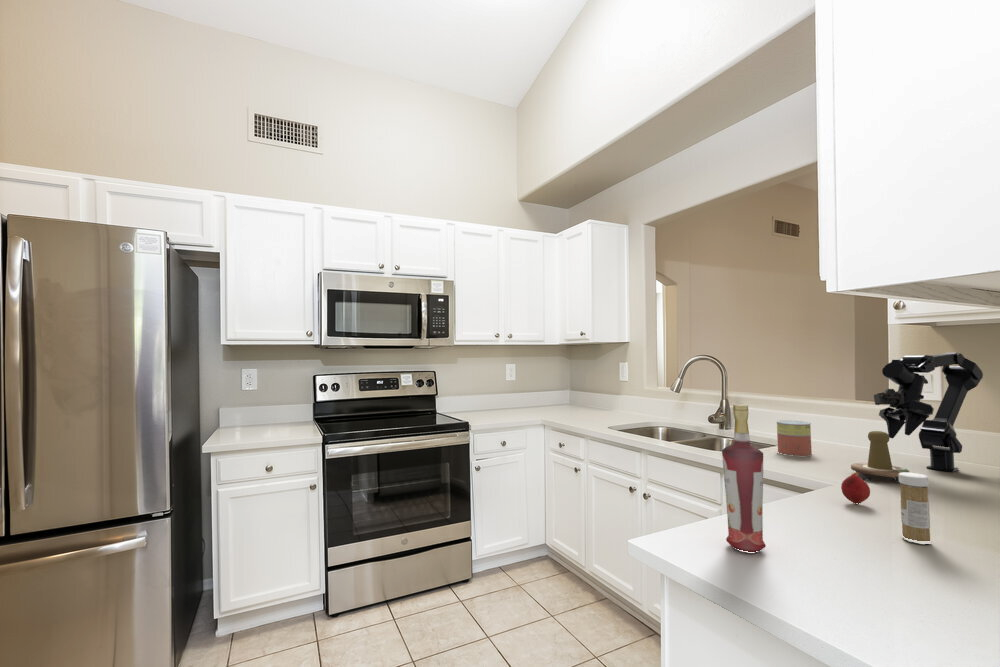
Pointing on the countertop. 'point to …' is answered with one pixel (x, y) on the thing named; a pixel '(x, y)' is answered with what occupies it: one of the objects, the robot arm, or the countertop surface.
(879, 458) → the cork
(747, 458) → the liquor
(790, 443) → the canned food
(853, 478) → the onion
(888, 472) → the brown shallow bowl
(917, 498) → the sprinkles bottle
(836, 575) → the countertop surface
